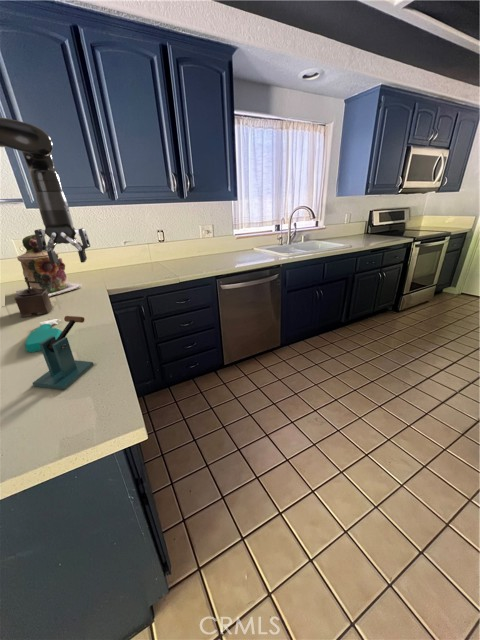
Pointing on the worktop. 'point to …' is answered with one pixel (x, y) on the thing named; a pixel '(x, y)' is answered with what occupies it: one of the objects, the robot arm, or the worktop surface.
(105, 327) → the worktop surface
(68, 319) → the lever handle
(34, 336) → the spray bottle
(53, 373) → the teal lever stand
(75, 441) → the worktop surface
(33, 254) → the cookie jar
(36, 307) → the manual coffee grinder
